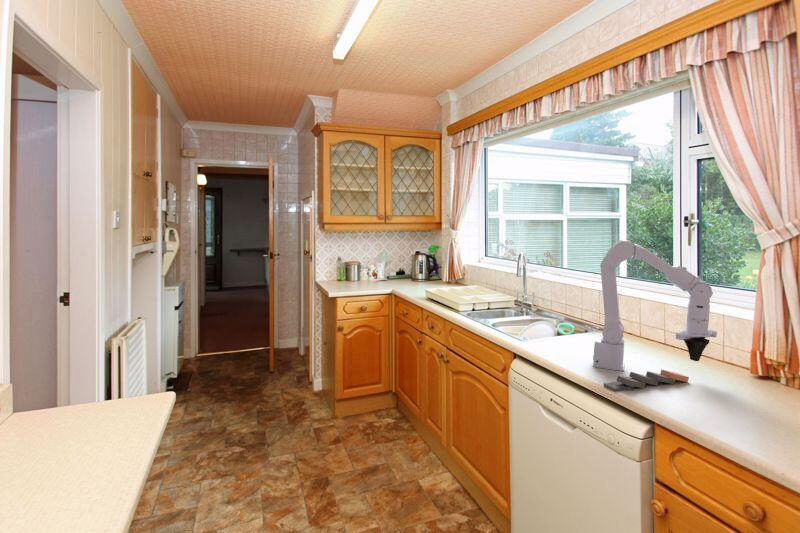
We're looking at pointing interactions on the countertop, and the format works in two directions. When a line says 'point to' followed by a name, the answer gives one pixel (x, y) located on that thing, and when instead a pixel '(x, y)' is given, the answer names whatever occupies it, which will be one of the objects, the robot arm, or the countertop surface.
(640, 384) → the domino
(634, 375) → the domino
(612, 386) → the domino
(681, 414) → the countertop surface
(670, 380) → the domino
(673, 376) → the domino
